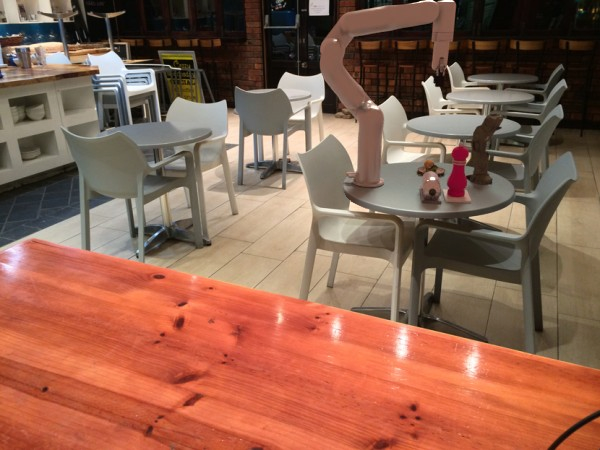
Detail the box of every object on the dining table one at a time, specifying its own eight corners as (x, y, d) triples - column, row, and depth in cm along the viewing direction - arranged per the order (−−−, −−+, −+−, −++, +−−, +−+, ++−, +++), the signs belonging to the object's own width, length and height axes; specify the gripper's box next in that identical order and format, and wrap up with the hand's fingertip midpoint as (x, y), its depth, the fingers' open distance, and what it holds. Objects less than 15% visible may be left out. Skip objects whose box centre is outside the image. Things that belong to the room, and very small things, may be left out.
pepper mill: (441, 193, 186) (446, 141, 178) (457, 190, 188) (463, 139, 181) (453, 199, 180) (459, 145, 172) (470, 196, 182) (476, 143, 174)
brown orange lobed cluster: (445, 178, 206) (447, 161, 203) (416, 176, 209) (418, 159, 206) (444, 170, 217) (446, 153, 214) (417, 168, 220) (418, 152, 217)
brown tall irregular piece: (457, 173, 208) (477, 109, 191) (470, 171, 210) (490, 107, 193) (478, 189, 198) (501, 123, 181) (491, 187, 201) (515, 121, 184)
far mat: (445, 201, 180) (445, 199, 179) (442, 191, 191) (442, 189, 190) (470, 202, 178) (471, 200, 178) (466, 192, 189) (467, 190, 189)
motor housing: (421, 202, 179) (423, 183, 176) (419, 188, 194) (421, 170, 191) (441, 203, 178) (443, 184, 175) (438, 189, 193) (439, 171, 190)
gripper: (430, 36, 190) (427, 82, 197) (433, 38, 174) (429, 88, 181) (450, 36, 188) (446, 82, 195) (455, 38, 173) (450, 88, 180)
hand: (438, 85), depth 188 cm, fingers open, 9 cm apart
